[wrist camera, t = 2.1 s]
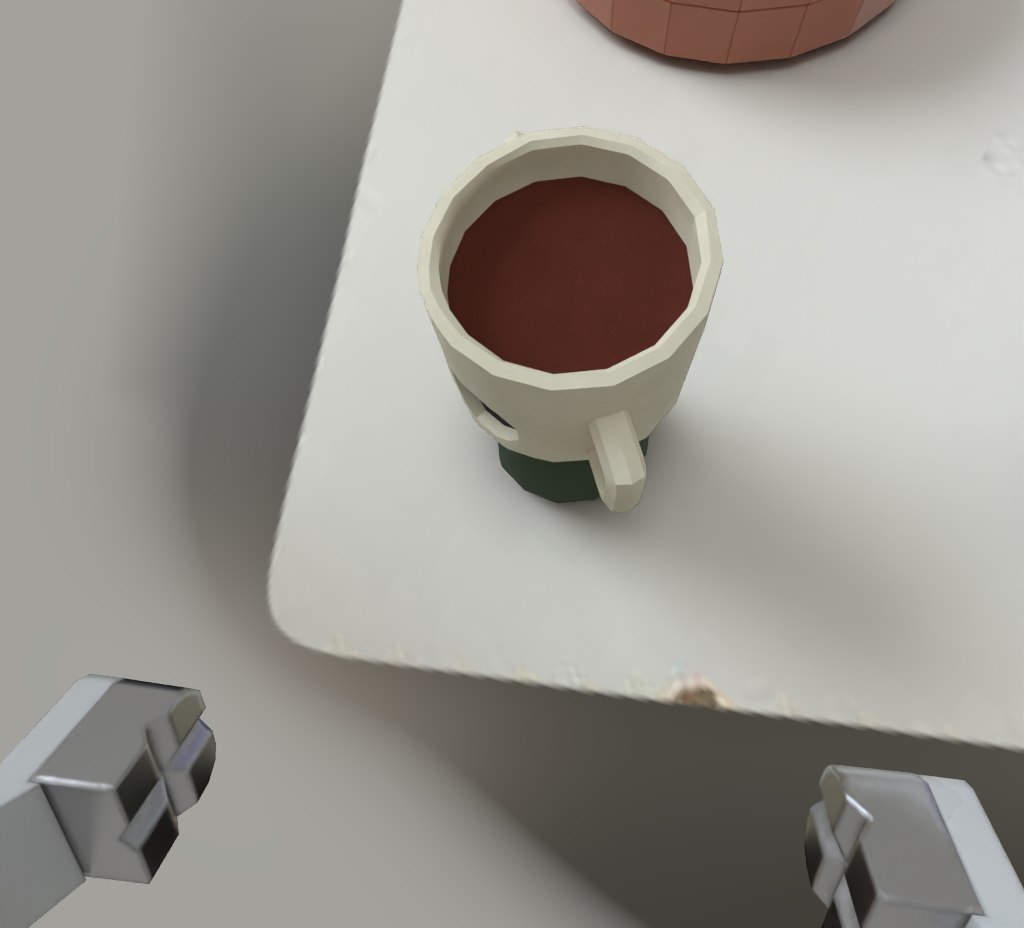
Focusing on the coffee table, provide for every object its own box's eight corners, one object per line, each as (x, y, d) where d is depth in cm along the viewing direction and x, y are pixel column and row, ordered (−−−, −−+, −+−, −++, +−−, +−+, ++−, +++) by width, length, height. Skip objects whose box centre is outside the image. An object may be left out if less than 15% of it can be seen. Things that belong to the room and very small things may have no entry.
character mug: (455, 340, 30) (371, 110, 18) (614, 294, 30) (642, 31, 18) (522, 585, 27) (476, 515, 14) (699, 535, 27) (807, 421, 14)
